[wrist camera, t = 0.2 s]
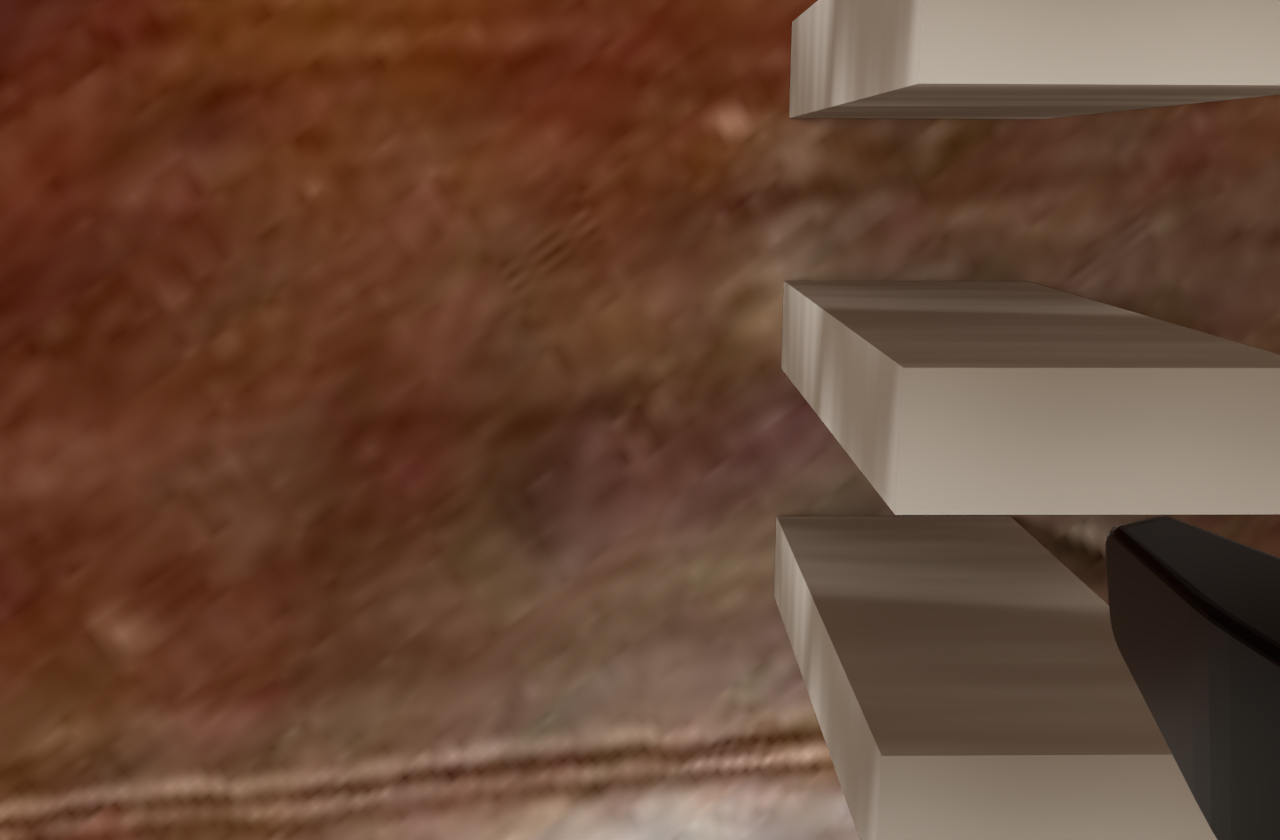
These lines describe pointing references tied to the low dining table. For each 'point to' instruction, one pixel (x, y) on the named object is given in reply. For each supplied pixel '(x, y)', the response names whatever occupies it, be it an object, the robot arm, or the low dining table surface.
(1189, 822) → the ivory domino
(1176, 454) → the ivory domino
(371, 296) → the low dining table surface
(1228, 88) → the ivory domino
